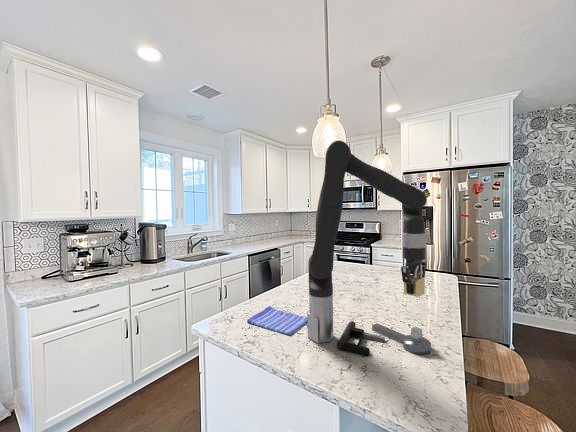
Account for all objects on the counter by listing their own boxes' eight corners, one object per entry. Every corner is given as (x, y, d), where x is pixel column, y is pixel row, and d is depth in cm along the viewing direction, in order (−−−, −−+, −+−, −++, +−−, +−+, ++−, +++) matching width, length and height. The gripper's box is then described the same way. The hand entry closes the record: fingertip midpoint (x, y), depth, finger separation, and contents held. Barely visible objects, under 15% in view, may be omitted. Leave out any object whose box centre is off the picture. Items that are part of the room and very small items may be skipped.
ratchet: (422, 358, 88) (422, 337, 88) (367, 332, 107) (367, 315, 107) (436, 349, 94) (436, 329, 93) (381, 326, 112) (381, 309, 112)
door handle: (386, 328, 106) (346, 319, 113) (380, 354, 88) (333, 341, 95) (386, 336, 106) (346, 326, 113) (379, 364, 88) (332, 350, 95)
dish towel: (269, 310, 132) (268, 305, 132) (311, 321, 119) (310, 315, 119) (245, 323, 118) (245, 317, 118) (290, 337, 105) (290, 330, 105)
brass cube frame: (417, 297, 93) (417, 280, 92) (404, 293, 97) (403, 277, 96) (424, 293, 96) (424, 277, 95) (411, 290, 100) (410, 274, 99)
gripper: (413, 242, 103) (413, 285, 103) (393, 246, 94) (393, 294, 95) (433, 244, 97) (433, 290, 98) (414, 249, 88) (414, 299, 89)
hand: (414, 292), depth 96 cm, fingers closed on brass cube frame, 5 cm apart
